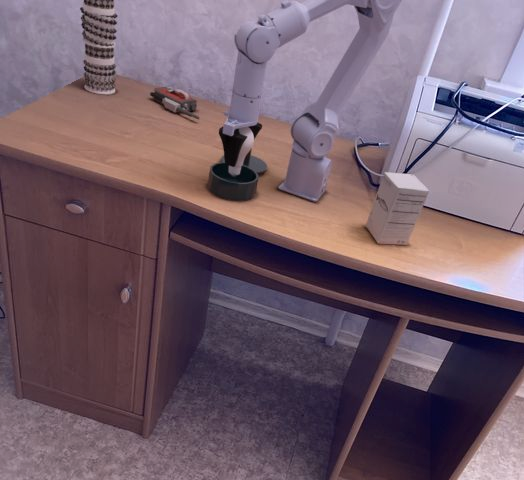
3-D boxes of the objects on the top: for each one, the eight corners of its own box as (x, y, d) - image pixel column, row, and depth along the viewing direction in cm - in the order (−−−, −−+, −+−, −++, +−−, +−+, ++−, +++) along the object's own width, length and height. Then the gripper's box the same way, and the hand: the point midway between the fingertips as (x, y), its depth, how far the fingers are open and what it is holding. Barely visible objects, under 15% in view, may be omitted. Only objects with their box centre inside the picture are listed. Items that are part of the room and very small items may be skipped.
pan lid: (273, 167, 130) (276, 148, 127) (256, 181, 122) (259, 161, 119) (232, 153, 132) (235, 134, 129) (212, 166, 124) (215, 146, 121)
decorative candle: (110, 97, 146) (110, -9, 130) (77, 89, 145) (73, -18, 129) (121, 88, 153) (122, -13, 137) (89, 81, 152) (87, -22, 136)
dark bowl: (262, 189, 119) (265, 172, 116) (244, 206, 111) (247, 188, 109) (220, 174, 121) (222, 157, 118) (199, 190, 113) (201, 172, 110)
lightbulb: (216, 177, 112) (223, 124, 105) (224, 167, 116) (231, 116, 109) (243, 184, 111) (252, 132, 104) (250, 174, 116) (259, 124, 109)
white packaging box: (364, 226, 115) (383, 170, 106) (394, 228, 117) (415, 173, 109) (376, 244, 109) (397, 187, 101) (407, 245, 112) (431, 190, 103)
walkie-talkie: (143, 99, 150) (195, 124, 142) (144, 82, 147) (197, 107, 140) (166, 96, 156) (216, 119, 148) (167, 80, 153) (218, 103, 146)
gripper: (242, 81, 109) (233, 145, 118) (212, 94, 98) (204, 164, 107) (273, 90, 108) (261, 155, 117) (246, 105, 97) (235, 175, 106)
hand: (236, 160), depth 112 cm, fingers closed on lightbulb, 6 cm apart
